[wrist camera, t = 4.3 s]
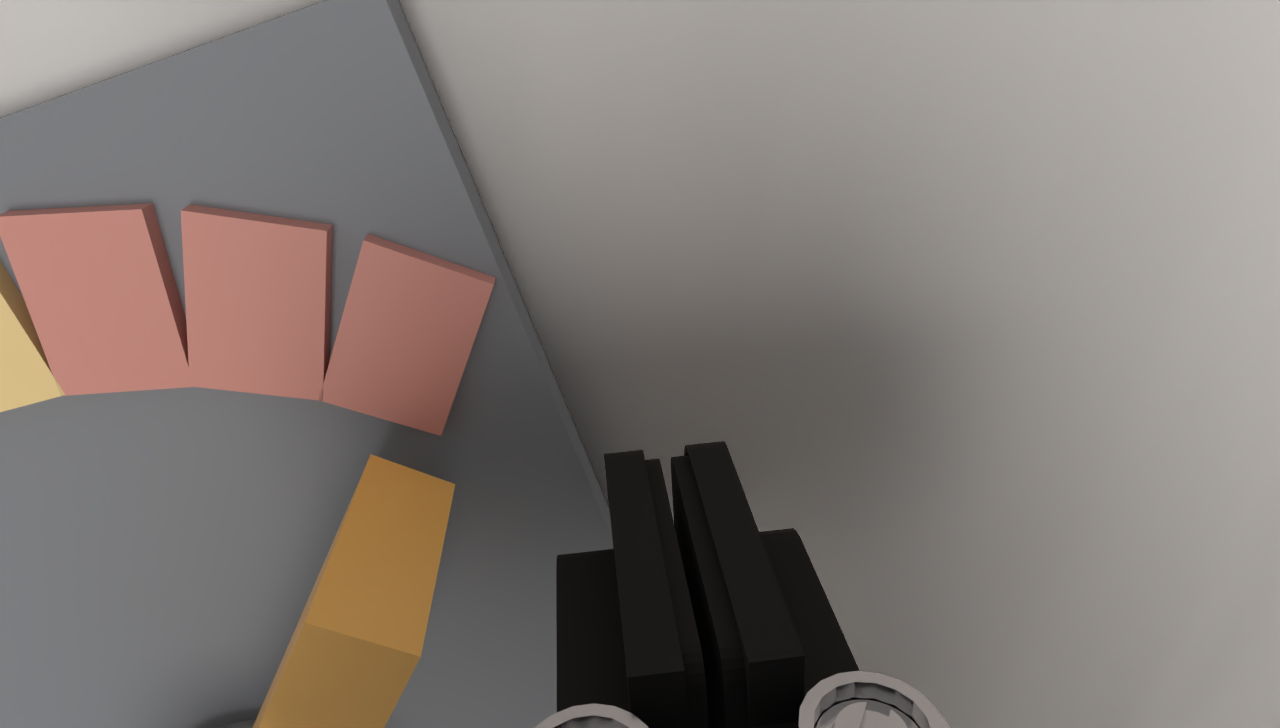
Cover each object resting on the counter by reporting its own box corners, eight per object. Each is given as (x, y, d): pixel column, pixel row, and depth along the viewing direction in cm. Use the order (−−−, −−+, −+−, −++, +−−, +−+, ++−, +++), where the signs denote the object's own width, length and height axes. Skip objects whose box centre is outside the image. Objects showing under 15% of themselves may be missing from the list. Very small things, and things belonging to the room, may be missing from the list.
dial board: (772, 902, 19) (787, 966, 17) (223, 1064, 19) (200, 1137, 18) (391, -18, 10) (367, -19, 9) (-578, 331, 11) (-725, 376, 9)
